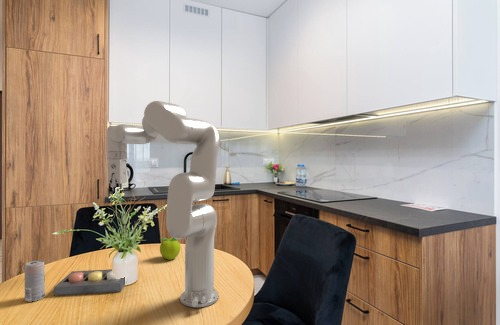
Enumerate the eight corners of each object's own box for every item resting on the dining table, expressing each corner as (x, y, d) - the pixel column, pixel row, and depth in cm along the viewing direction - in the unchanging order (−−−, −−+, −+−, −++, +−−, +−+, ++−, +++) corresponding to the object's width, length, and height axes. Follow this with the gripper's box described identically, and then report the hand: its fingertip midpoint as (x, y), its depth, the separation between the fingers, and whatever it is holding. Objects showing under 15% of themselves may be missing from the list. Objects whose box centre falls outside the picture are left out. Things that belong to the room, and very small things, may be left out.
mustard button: (99, 286, 106) (99, 275, 106) (86, 287, 106) (85, 276, 106) (103, 281, 111) (103, 270, 111) (90, 282, 110) (90, 271, 110)
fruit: (159, 256, 140) (159, 235, 140) (179, 254, 143) (179, 234, 142) (159, 263, 131) (159, 240, 131) (181, 261, 134) (181, 239, 134)
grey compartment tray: (120, 291, 103) (120, 283, 103) (53, 296, 100) (53, 287, 100) (130, 275, 117) (130, 268, 117) (72, 279, 114) (72, 271, 114)
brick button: (80, 287, 105) (80, 276, 105) (66, 288, 105) (66, 277, 105) (85, 282, 110) (85, 271, 110) (72, 283, 109) (71, 272, 109)
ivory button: (118, 285, 107) (118, 274, 107) (105, 286, 107) (105, 275, 107) (122, 280, 112) (122, 270, 112) (109, 281, 111) (109, 270, 111)
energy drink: (41, 293, 102) (41, 258, 101) (47, 298, 98) (46, 262, 98) (22, 299, 98) (22, 263, 97) (27, 304, 94) (27, 267, 94)
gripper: (121, 156, 115) (122, 203, 115) (131, 156, 130) (131, 197, 130) (101, 156, 114) (101, 203, 114) (113, 156, 129) (113, 198, 129)
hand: (117, 200), depth 122 cm, fingers closed
